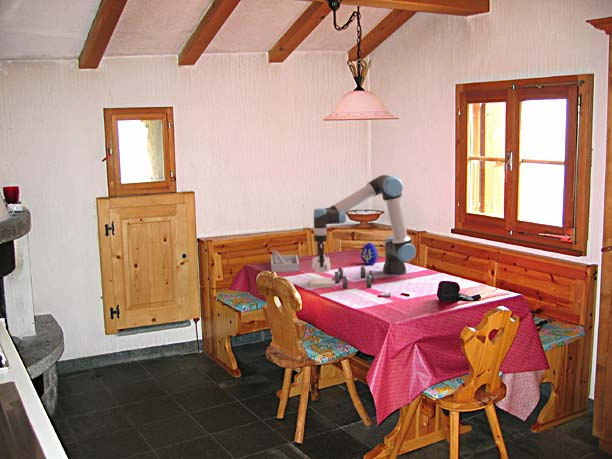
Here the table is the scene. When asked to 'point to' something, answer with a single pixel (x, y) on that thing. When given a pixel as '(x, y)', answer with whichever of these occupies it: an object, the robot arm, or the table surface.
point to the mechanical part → (316, 264)
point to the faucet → (279, 258)
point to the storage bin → (285, 266)
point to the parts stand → (321, 282)
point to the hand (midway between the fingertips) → (320, 269)
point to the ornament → (369, 254)
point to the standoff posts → (345, 278)
